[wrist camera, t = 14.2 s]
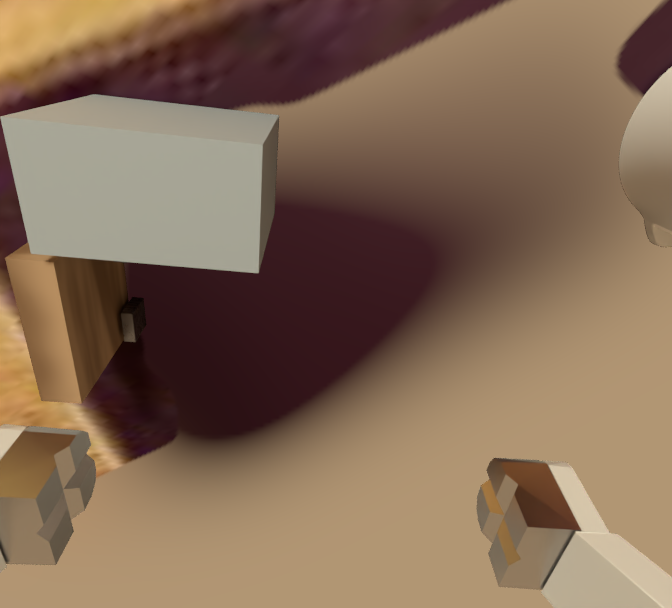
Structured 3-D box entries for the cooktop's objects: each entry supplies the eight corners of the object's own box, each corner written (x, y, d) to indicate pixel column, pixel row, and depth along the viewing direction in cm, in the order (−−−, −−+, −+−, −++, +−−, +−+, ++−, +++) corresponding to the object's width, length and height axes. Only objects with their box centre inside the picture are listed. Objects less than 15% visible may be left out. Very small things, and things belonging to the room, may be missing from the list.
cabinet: (279, 115, 37) (262, 144, 26) (274, 213, 41) (258, 273, 30) (94, 94, 36) (0, 116, 25) (107, 197, 39) (31, 253, 29)
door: (117, 209, 40) (53, 262, 30) (131, 327, 46) (81, 403, 36) (68, 204, 40) (-12, 256, 30) (89, 324, 46) (27, 399, 36)
